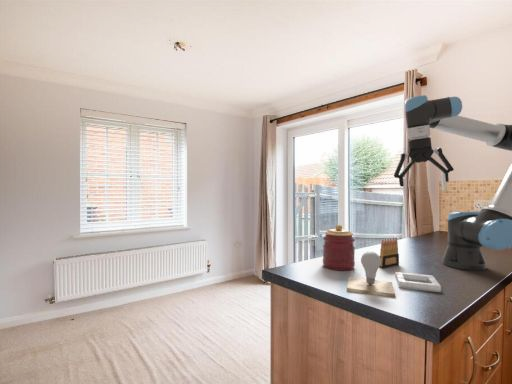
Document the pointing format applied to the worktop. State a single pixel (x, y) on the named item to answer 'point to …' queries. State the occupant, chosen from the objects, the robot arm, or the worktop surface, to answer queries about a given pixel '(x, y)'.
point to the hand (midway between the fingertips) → (424, 192)
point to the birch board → (371, 287)
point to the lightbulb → (370, 265)
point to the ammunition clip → (389, 253)
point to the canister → (338, 249)
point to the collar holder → (429, 286)
